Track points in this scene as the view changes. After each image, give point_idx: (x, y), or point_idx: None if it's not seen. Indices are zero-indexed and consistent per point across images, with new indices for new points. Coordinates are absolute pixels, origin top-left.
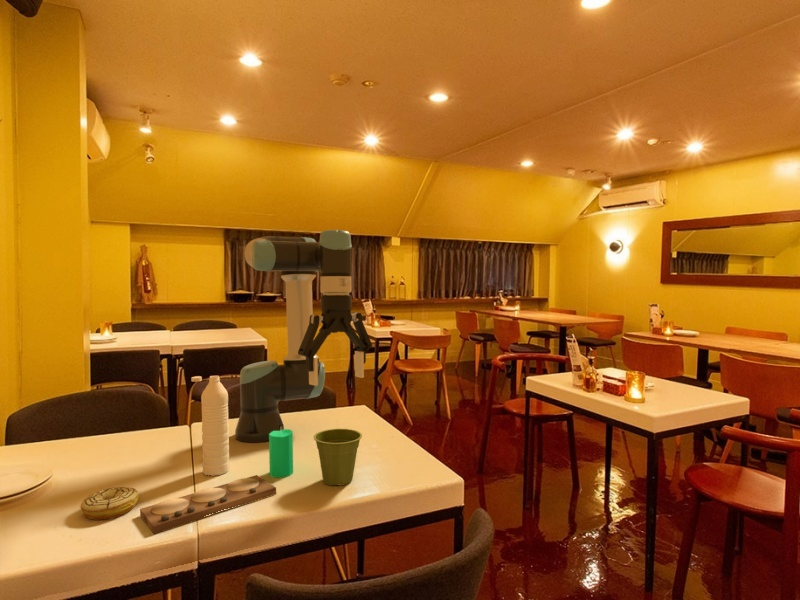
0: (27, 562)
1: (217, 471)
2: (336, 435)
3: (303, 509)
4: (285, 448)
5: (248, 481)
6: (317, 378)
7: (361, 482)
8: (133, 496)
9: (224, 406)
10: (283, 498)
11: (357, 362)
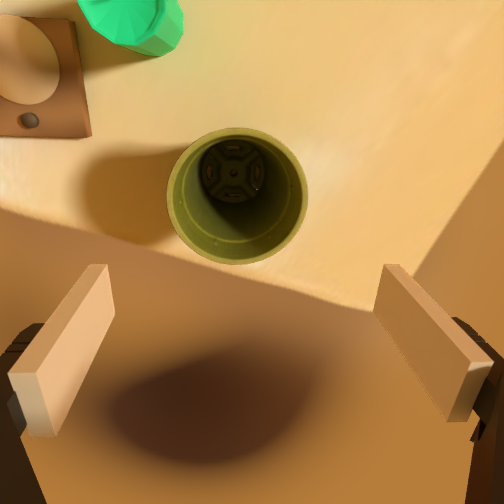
0: None
1: None
2: (269, 146)
3: (113, 232)
4: (132, 48)
5: (34, 52)
6: (102, 335)
7: None
8: None
9: None
10: (98, 166)
11: (417, 331)
